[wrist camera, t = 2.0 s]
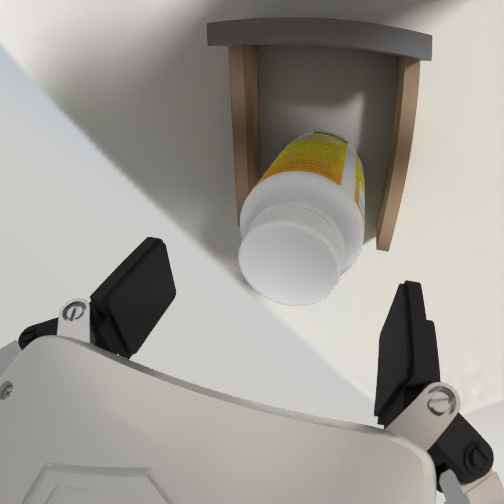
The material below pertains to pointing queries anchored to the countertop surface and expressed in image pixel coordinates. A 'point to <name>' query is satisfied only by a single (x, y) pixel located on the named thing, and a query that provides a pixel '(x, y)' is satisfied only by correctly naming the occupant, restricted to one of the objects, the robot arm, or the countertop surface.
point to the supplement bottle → (304, 220)
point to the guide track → (329, 36)
